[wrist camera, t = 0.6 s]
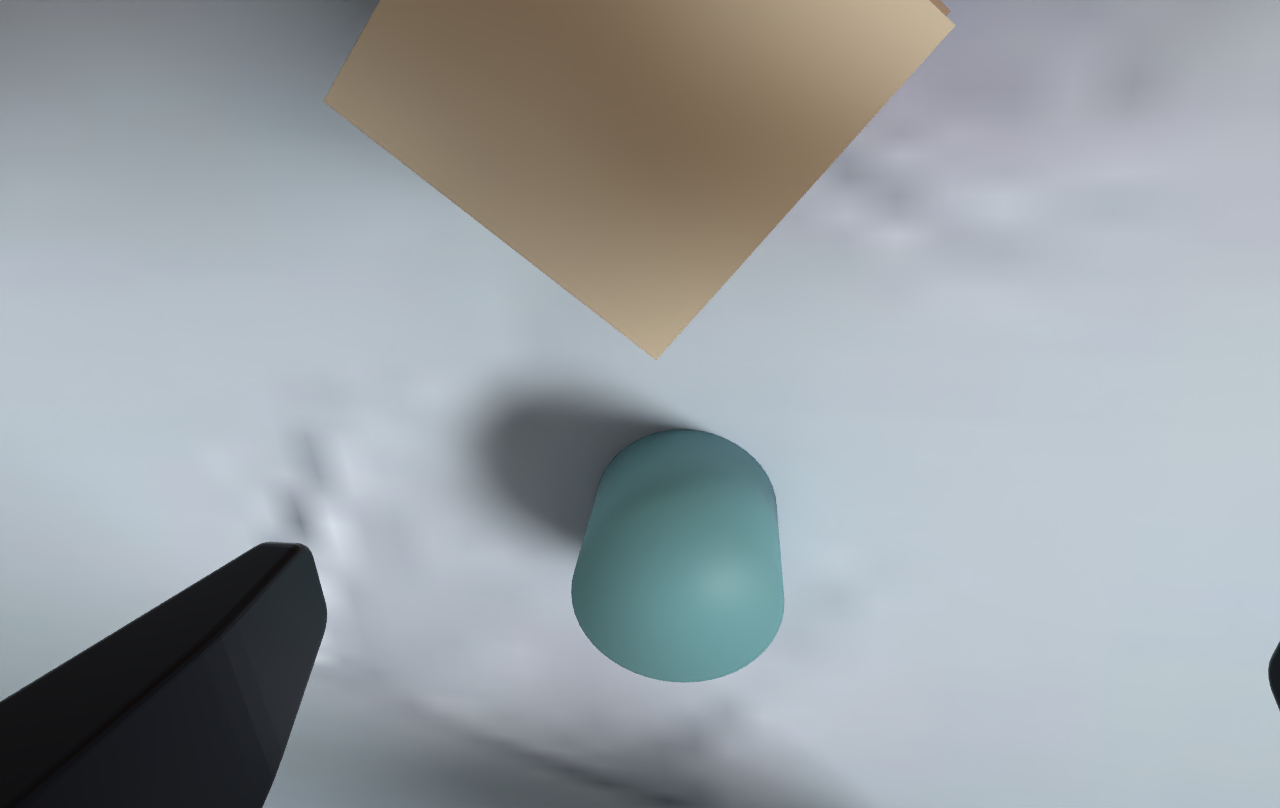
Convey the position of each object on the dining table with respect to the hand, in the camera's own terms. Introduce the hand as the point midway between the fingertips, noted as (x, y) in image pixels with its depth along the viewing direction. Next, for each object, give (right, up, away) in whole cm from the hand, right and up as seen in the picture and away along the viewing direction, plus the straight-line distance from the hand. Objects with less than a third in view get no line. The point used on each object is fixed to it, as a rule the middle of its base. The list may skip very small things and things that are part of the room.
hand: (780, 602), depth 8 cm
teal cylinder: (0, -1, +15) cm, 15 cm away
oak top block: (-1, +8, +7) cm, 11 cm away
